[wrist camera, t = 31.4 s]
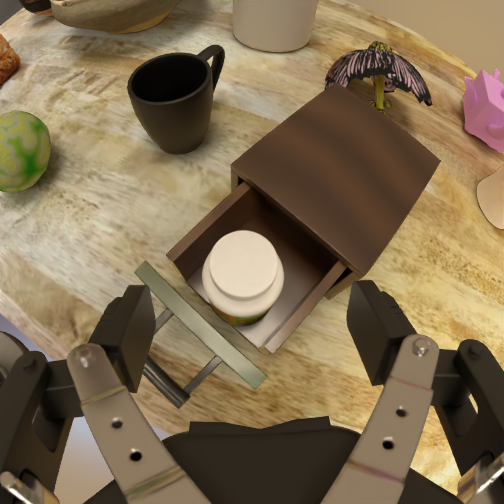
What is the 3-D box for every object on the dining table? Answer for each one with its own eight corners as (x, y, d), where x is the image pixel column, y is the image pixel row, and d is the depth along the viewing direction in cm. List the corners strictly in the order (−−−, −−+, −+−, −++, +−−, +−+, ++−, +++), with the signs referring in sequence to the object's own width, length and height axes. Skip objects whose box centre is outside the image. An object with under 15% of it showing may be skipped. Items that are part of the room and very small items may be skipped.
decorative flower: (429, 43, 31) (447, 71, 23) (421, 113, 40) (429, 163, 31) (329, 28, 36) (306, 48, 27) (330, 97, 45) (309, 141, 36)
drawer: (210, 421, 25) (202, 442, 18) (120, 331, 27) (85, 322, 20) (345, 270, 30) (376, 244, 23) (257, 195, 32) (262, 152, 25)
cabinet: (328, 300, 30) (365, 276, 21) (231, 215, 32) (230, 164, 23) (401, 203, 33) (441, 160, 25) (317, 136, 36) (336, 81, 27)
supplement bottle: (235, 339, 26) (235, 329, 17) (197, 289, 27) (177, 254, 18) (285, 300, 27) (310, 270, 18) (246, 253, 28) (251, 202, 19)
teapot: (443, 78, 43) (466, 41, 34) (498, 113, 42) (523, 83, 33) (444, 142, 37) (478, 99, 28) (507, 183, 36) (544, 151, 27)
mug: (249, 112, 36) (253, 51, 27) (182, 176, 33) (167, 117, 24) (199, 86, 38) (194, 29, 29) (133, 144, 34) (110, 87, 25)
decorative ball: (46, 210, 31) (0, 165, 22) (-5, 204, 31) (-48, 166, 22) (75, 141, 34) (44, 88, 25) (23, 142, 34) (-10, 98, 25)
